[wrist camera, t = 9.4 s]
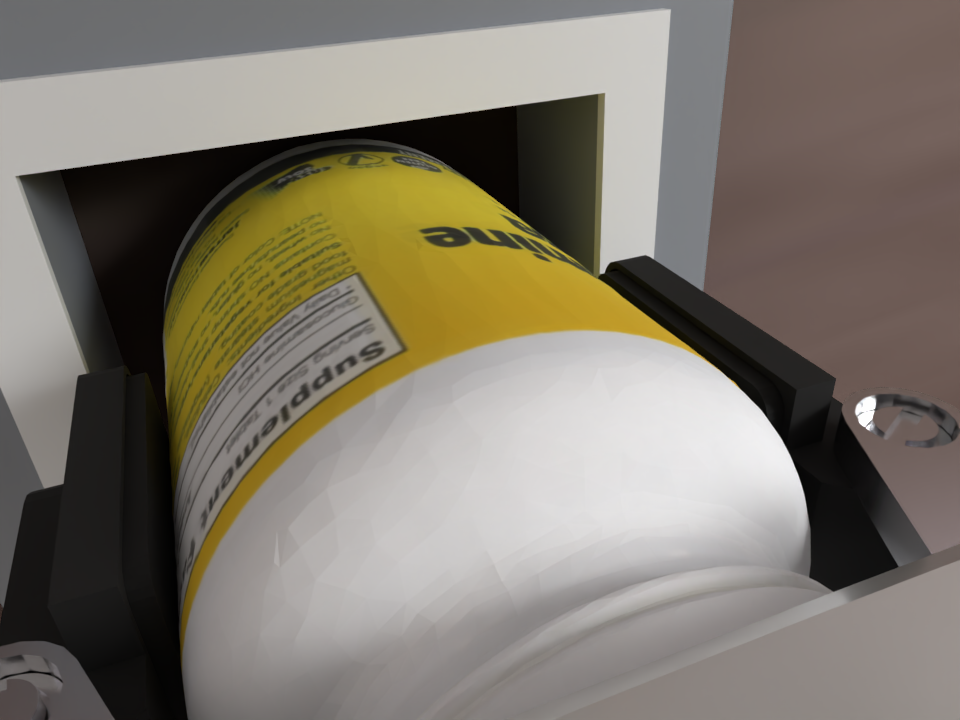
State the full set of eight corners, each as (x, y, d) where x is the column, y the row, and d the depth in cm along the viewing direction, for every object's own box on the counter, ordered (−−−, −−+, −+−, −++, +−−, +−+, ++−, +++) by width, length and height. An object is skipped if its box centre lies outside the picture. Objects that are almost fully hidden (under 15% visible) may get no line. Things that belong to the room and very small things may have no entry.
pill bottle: (564, 277, 15) (1168, 778, 6) (355, 495, 16) (637, 1231, 7) (333, 40, 12) (973, 423, 3) (74, 334, 12) (-80, 1420, 3)
